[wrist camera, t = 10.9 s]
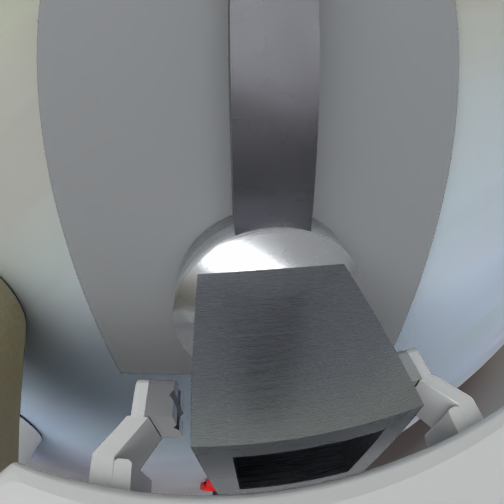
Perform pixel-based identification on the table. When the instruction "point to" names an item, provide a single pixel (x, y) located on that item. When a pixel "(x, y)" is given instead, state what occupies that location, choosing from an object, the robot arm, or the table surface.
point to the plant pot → (10, 373)
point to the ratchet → (267, 155)
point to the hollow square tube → (291, 379)
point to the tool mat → (218, 149)
